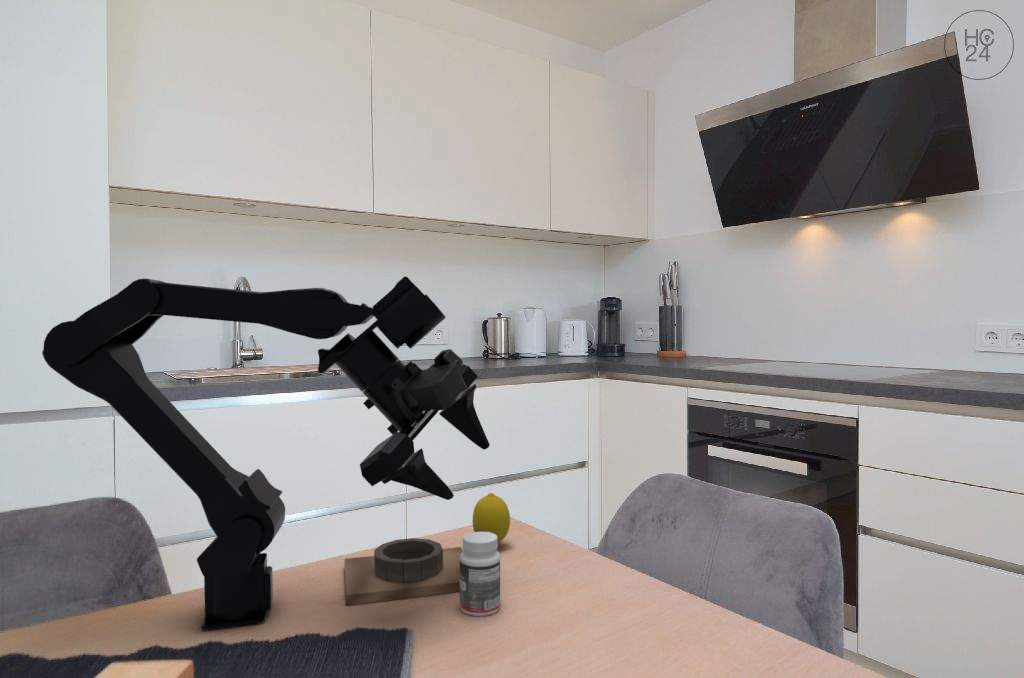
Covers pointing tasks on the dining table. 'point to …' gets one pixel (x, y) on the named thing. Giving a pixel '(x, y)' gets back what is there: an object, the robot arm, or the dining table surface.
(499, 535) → the lemon
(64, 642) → the dining table surface
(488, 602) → the pill bottle
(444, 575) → the socket board
